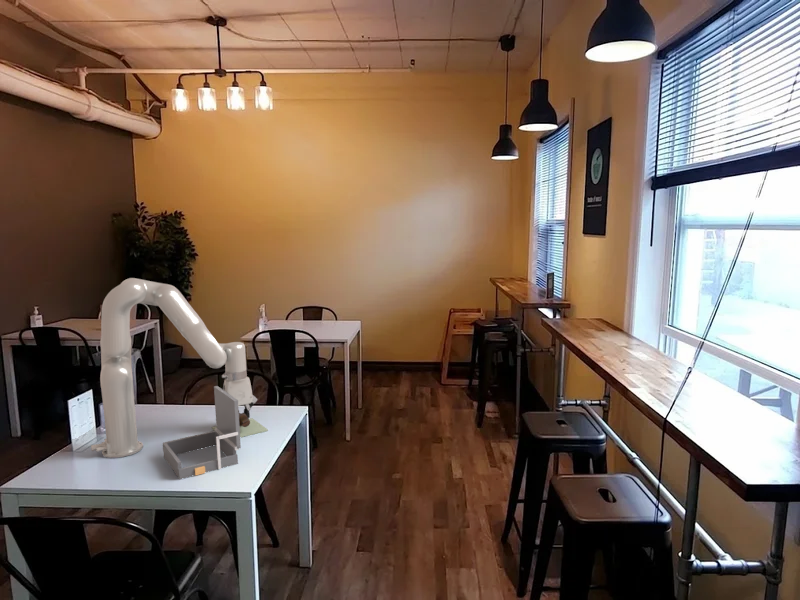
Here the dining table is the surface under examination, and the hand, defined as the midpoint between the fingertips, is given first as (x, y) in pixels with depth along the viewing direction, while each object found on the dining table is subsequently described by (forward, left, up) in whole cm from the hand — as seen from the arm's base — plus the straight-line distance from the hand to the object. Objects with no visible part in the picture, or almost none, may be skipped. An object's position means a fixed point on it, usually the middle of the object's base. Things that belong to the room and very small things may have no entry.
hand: (238, 421), depth 202 cm
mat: (0, 0, -3) cm, 3 cm away
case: (-20, -19, -3) cm, 28 cm away
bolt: (0, 0, -1) cm, 1 cm away
